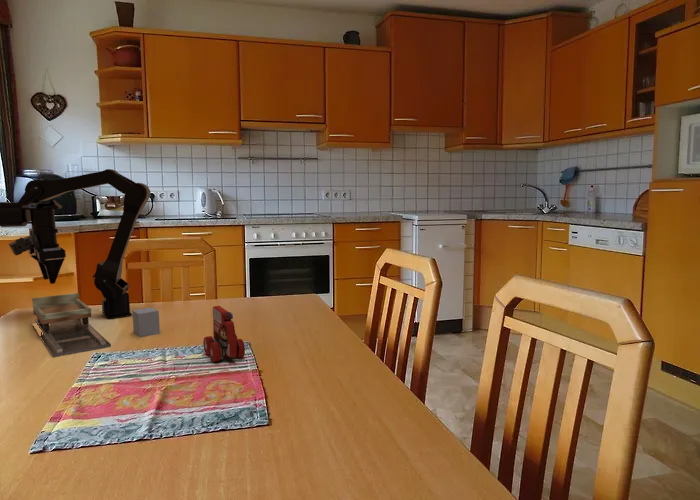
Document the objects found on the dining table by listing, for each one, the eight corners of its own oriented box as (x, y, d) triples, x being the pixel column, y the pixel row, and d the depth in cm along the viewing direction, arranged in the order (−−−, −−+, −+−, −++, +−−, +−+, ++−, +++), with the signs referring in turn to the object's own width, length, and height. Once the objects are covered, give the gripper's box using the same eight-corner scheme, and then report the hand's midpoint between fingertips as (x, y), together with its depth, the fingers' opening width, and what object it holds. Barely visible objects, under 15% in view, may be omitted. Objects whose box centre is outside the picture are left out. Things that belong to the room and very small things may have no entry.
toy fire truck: (216, 367, 110) (214, 318, 108) (201, 351, 120) (199, 306, 119) (249, 361, 113) (247, 313, 112) (231, 346, 124) (229, 302, 122)
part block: (153, 329, 138) (152, 307, 137) (159, 333, 134) (158, 310, 133) (133, 333, 135) (132, 310, 134) (139, 337, 131) (138, 314, 130)
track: (80, 318, 150) (80, 313, 150) (110, 346, 124) (110, 340, 124) (31, 325, 143) (31, 320, 143) (52, 357, 117) (52, 351, 116)
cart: (79, 314, 149) (77, 292, 148) (92, 326, 136) (90, 302, 135) (34, 320, 142) (32, 298, 141) (43, 333, 130) (41, 309, 129)
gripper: (4, 226, 148) (10, 281, 150) (14, 230, 134) (20, 290, 136) (49, 223, 155) (55, 275, 157) (63, 226, 141) (68, 284, 143)
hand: (49, 281), depth 148 cm, fingers open, 9 cm apart
